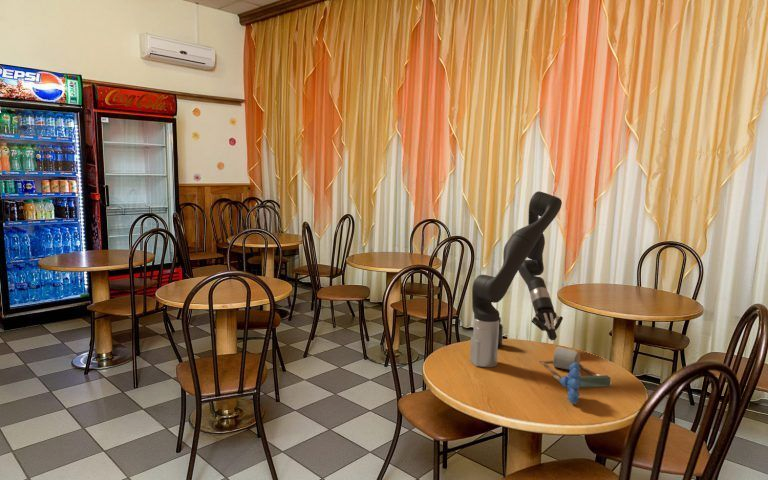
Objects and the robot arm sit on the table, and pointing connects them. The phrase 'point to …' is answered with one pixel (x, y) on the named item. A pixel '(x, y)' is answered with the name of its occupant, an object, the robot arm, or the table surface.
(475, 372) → the table surface
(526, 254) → the robot arm
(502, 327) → the supplement bottle
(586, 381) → the bay
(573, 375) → the grapes
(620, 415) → the table surface
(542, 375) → the table surface
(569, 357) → the ceramic mug
